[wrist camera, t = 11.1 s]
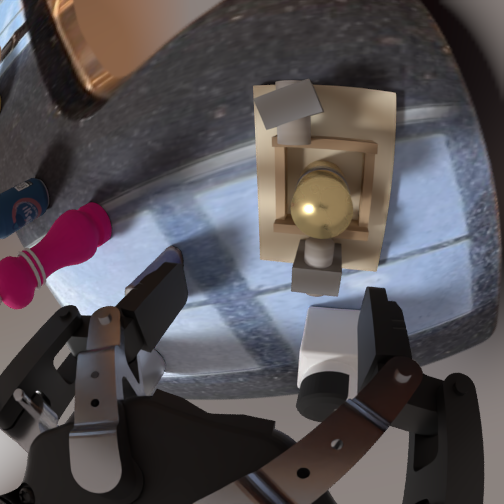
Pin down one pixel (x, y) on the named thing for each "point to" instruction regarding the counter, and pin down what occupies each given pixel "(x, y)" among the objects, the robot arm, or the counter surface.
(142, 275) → the flask
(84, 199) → the counter surface
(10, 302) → the pepper mill
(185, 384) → the counter surface
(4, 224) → the soda can
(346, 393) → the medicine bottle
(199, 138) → the counter surface
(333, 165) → the cylinder
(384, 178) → the wooden board with frame
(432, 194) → the counter surface
